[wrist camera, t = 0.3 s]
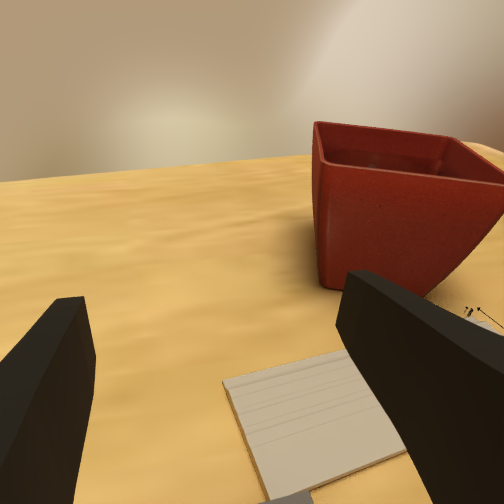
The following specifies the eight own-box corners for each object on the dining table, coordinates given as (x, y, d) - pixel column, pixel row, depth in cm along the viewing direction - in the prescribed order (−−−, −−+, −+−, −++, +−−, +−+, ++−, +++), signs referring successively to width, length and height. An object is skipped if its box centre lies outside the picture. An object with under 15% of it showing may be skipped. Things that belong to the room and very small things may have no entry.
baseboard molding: (217, 374, 34) (268, 513, 25) (218, 352, 33) (274, 492, 23) (459, 314, 45) (557, 394, 36) (469, 295, 44) (574, 375, 34)
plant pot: (294, 225, 60) (314, 118, 51) (413, 242, 59) (454, 135, 50) (293, 300, 43) (321, 161, 34) (457, 324, 43) (529, 188, 34)
